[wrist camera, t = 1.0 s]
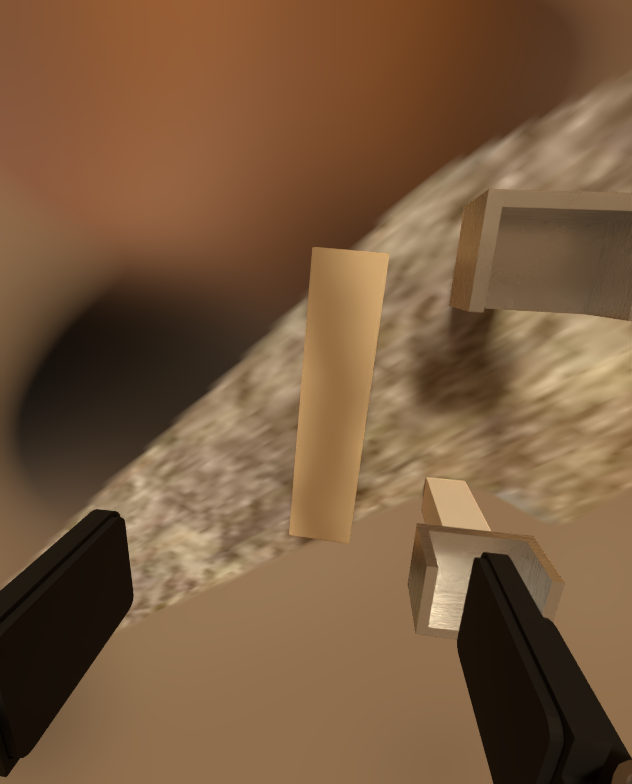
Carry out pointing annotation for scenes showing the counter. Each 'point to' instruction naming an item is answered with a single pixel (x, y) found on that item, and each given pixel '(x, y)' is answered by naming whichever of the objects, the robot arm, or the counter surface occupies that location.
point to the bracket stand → (524, 293)
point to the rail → (335, 389)
